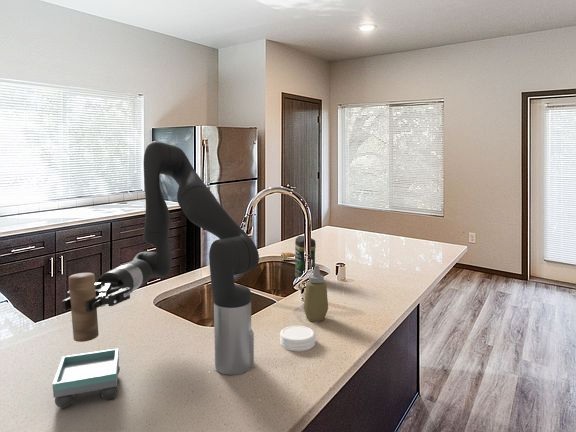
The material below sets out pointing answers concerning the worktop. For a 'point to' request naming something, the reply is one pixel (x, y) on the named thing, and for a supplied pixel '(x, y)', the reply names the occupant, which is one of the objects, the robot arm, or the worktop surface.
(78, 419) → the worktop surface
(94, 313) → the cylinder
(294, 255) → the pastry
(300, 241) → the coffee jar
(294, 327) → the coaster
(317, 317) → the squeeze bottle
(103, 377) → the wheeled cart
